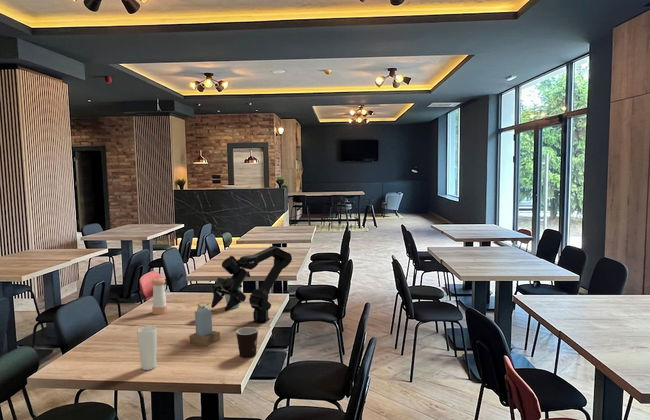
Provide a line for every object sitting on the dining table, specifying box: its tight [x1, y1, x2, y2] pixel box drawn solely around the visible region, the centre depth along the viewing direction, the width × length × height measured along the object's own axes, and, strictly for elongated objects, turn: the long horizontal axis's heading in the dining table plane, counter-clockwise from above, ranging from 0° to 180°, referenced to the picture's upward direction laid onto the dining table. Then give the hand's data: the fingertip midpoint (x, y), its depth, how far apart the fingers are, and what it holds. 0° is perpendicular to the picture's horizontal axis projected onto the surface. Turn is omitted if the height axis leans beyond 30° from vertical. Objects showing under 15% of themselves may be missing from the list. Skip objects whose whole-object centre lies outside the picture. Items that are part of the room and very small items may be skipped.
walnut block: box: [188, 330, 221, 348], centre depth 192 cm, size 9×9×4 cm
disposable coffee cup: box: [223, 287, 242, 309], centre depth 242 cm, size 11×11×15 cm
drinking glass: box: [137, 325, 158, 371], centre depth 166 cm, size 7×7×15 cm
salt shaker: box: [150, 276, 168, 315], centre depth 234 cm, size 7×7×19 cm
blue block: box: [194, 308, 213, 336], centre depth 192 cm, size 5×5×10 cm
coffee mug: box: [235, 326, 259, 359], centre depth 178 cm, size 12×9×10 cm
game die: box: [196, 302, 213, 313], centre depth 221 cm, size 9×8×10 cm
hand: (218, 309), depth 197 cm, fingers open, 9 cm apart
